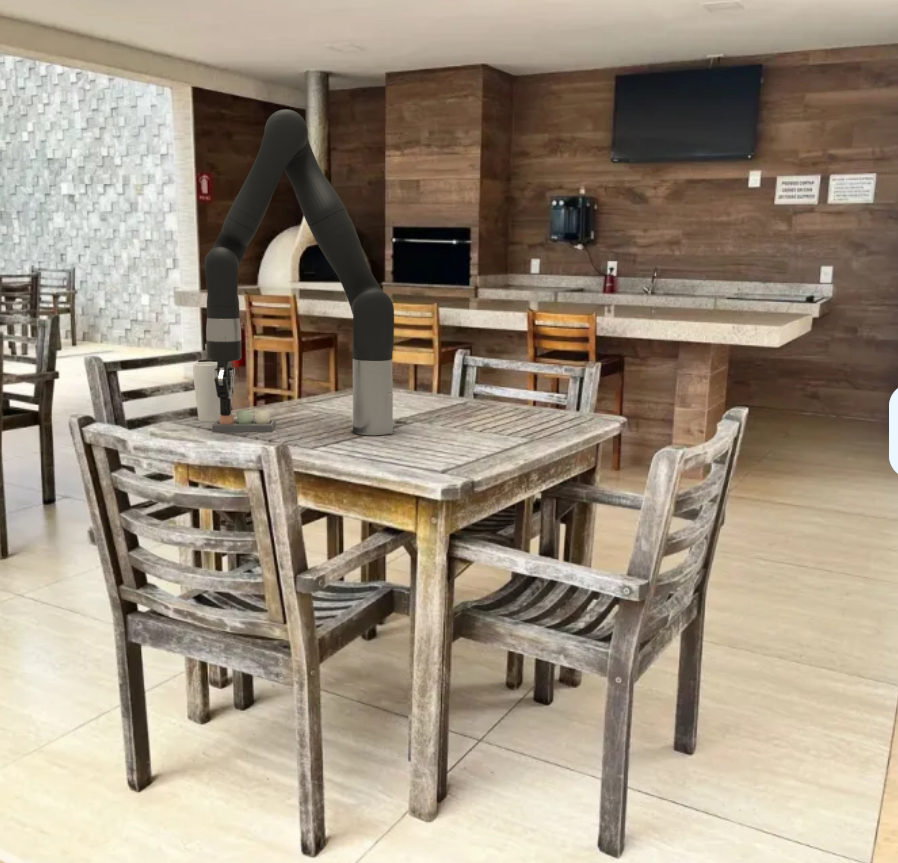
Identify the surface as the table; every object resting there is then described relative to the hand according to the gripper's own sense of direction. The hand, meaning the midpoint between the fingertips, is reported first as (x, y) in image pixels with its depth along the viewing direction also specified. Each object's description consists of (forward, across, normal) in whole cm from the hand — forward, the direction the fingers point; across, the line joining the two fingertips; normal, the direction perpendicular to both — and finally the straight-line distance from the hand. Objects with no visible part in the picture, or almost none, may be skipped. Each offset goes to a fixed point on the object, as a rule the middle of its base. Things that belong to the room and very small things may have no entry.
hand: (225, 415), depth 202 cm
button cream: (+3, 0, -8) cm, 9 cm away
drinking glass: (+5, +12, +6) cm, 15 cm away
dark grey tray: (+5, 0, -4) cm, 6 cm away
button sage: (+3, 0, -4) cm, 5 cm away
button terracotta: (+4, 0, 0) cm, 4 cm away
